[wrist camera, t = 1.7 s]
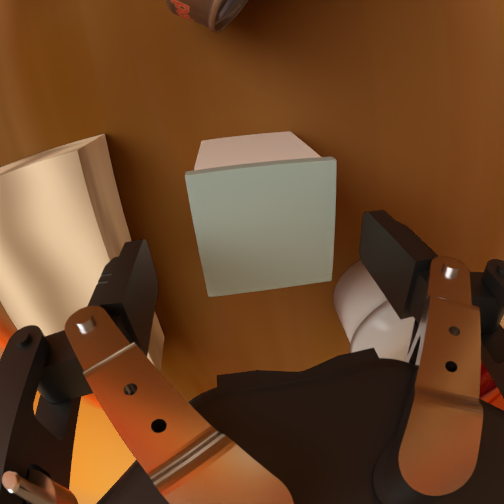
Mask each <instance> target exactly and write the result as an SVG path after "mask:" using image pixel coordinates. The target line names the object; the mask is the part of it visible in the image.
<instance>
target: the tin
mask: <svg viewBox="0 0 504 504" xmlns="http://www.w3.org/2000/svg"><path fill="white" fill-rule="evenodd" d="M248 1H249V0H166V3H167V5H168V7H169V9H170V10H171V12H173V13H174V14H176V15H178V16H181V17H183V18H186V19H189V20H192V21H194V22H197V23H199V24H202V25H204V26H207V27H209V28H210V30H211V31H213V32H215V33H218V32H220V31H222V30H223V29H224V28H225V27H226V26H227V25H228V24H229V23H230V22H231V21H232V20H233V19H234V18H235V17H236V16H237V15H238V14H239V12H240V11H241V10H242V9H243V7H244V6H245V5H246V3H247V2H248Z"/></svg>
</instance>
